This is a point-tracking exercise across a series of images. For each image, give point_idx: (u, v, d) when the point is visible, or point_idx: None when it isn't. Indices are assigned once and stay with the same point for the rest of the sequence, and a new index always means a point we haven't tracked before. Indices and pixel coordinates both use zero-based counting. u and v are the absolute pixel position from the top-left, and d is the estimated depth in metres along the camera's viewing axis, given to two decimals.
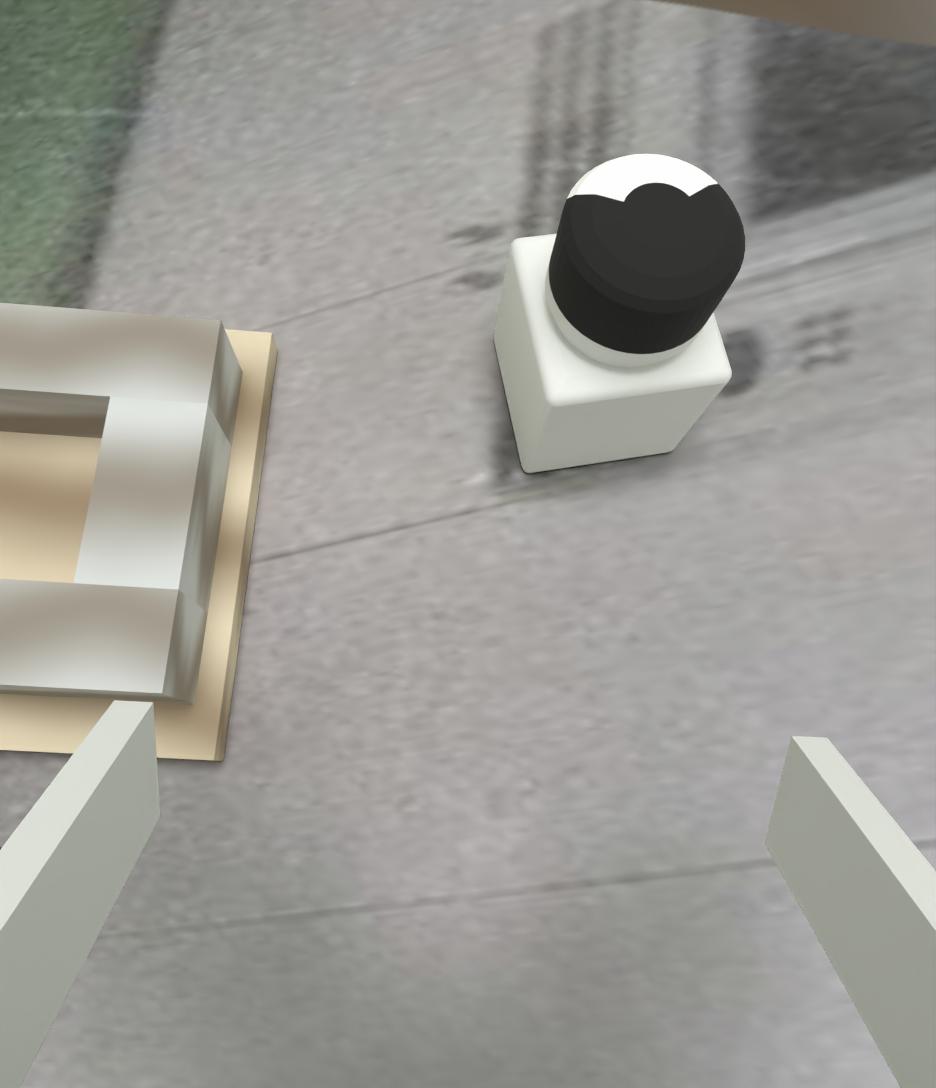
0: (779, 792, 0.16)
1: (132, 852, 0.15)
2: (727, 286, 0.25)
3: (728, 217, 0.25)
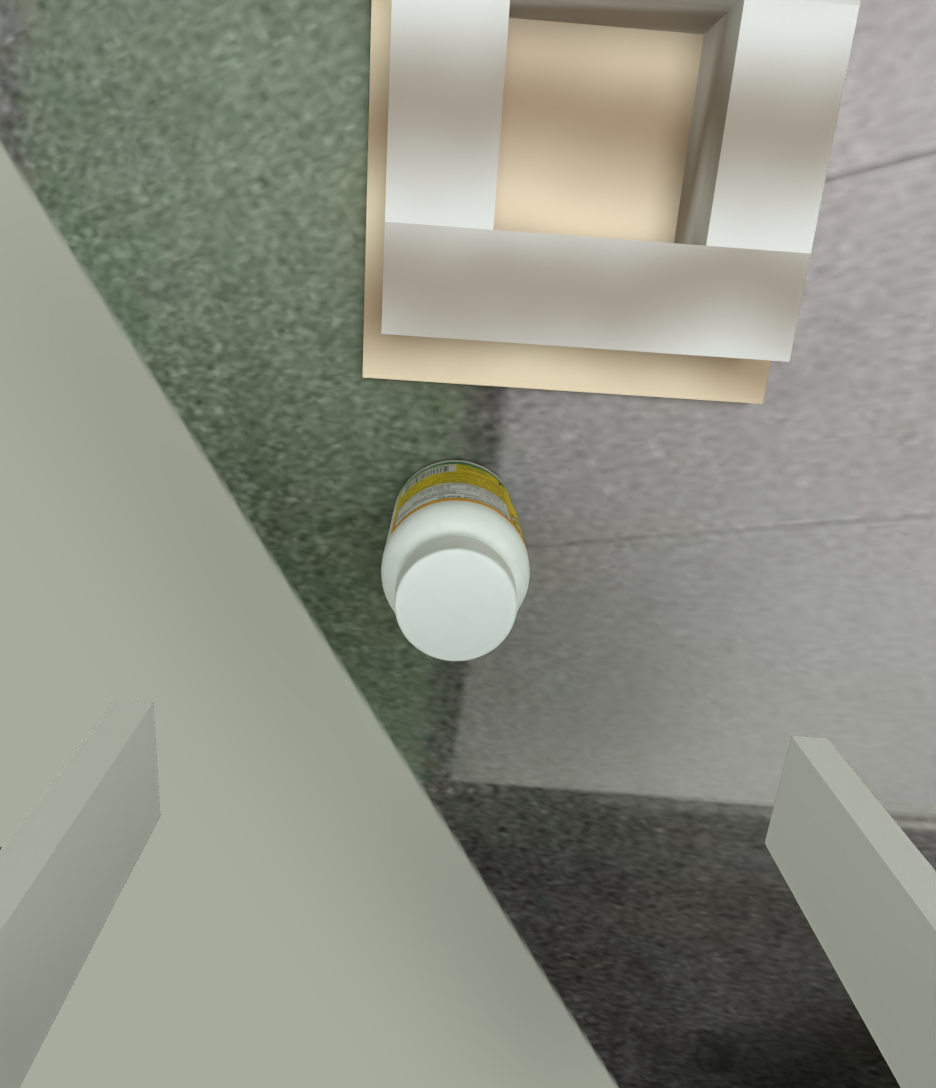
0: (779, 792, 0.16)
1: (131, 852, 0.15)
2: None
3: None
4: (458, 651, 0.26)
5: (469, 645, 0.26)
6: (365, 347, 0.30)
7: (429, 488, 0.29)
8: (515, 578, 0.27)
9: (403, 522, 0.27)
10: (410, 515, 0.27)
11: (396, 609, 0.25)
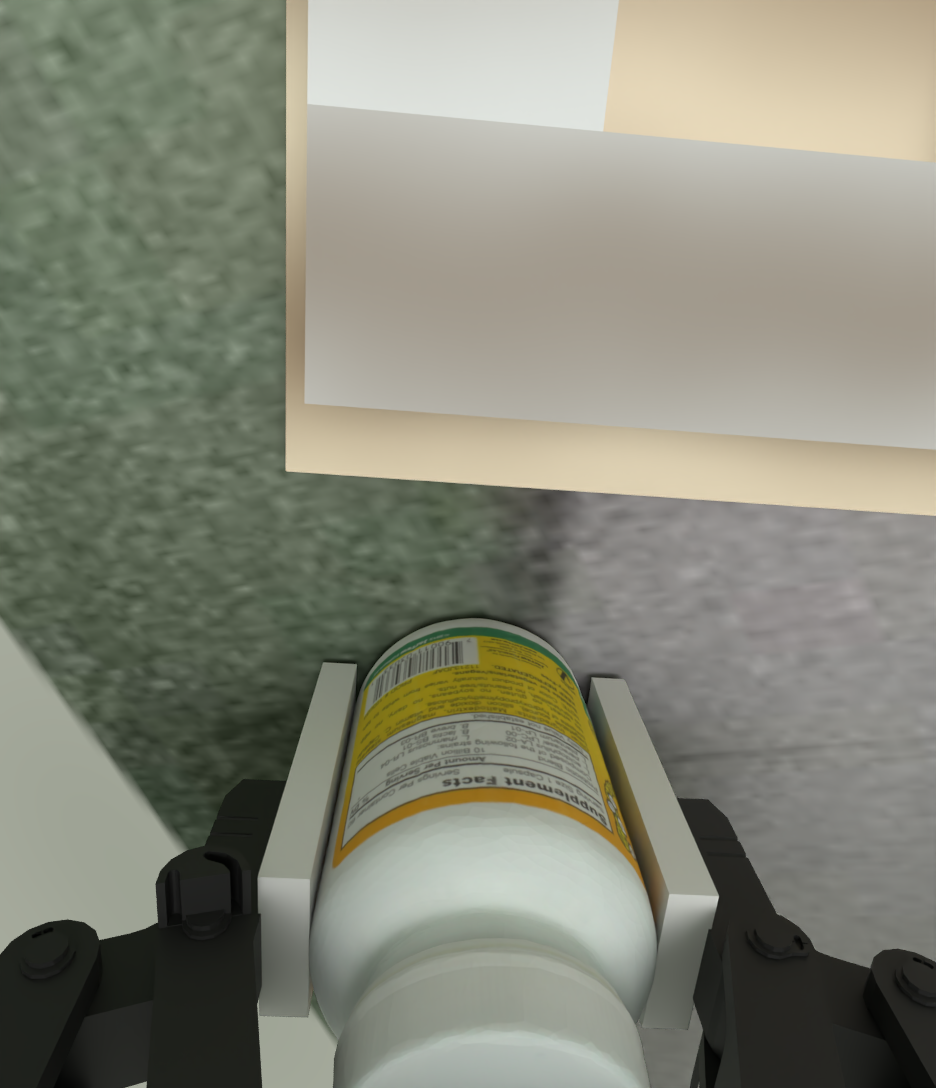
0: None
1: None
2: None
3: None
4: None
5: None
6: (290, 410, 0.14)
7: (423, 727, 0.13)
8: (630, 993, 0.11)
9: (360, 854, 0.11)
10: (377, 837, 0.11)
11: None
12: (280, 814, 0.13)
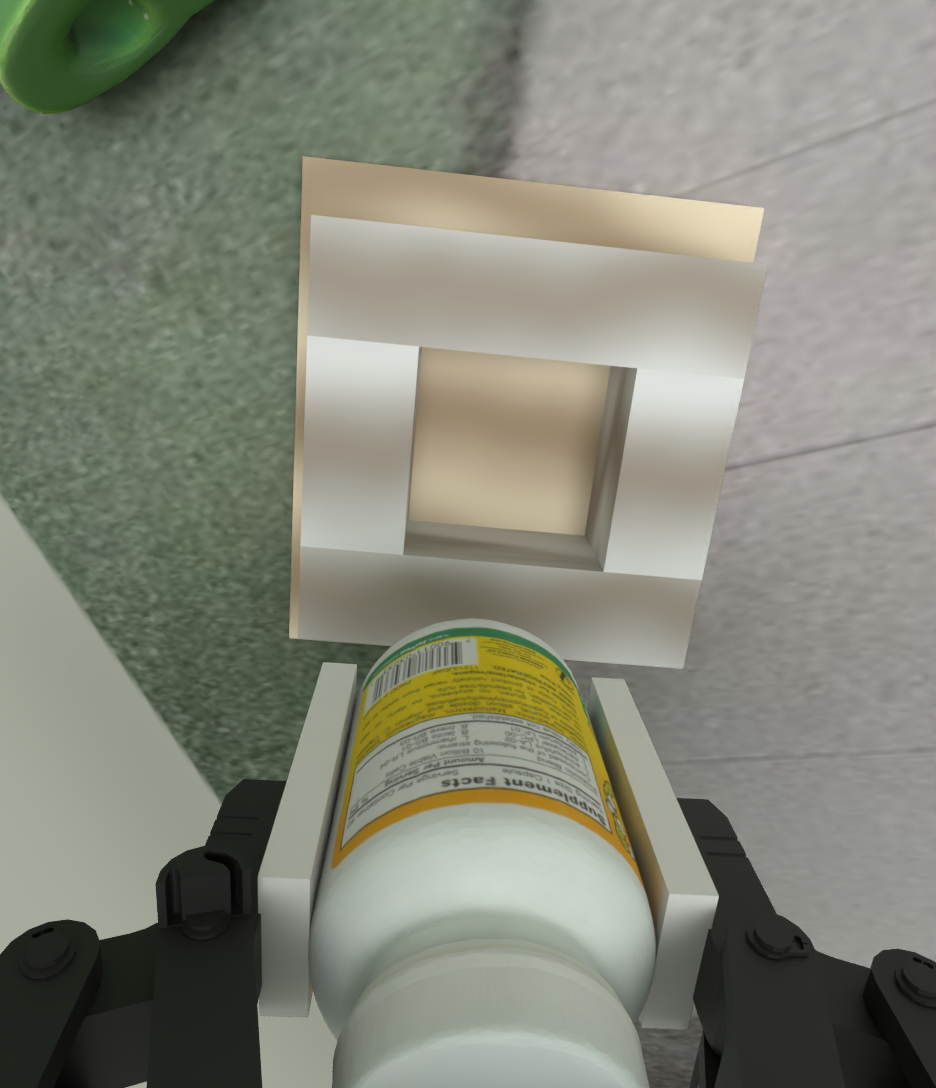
0: None
1: None
2: None
3: None
4: None
5: None
6: (292, 612, 0.32)
7: (422, 728, 0.13)
8: (629, 993, 0.11)
9: (359, 854, 0.11)
10: (376, 837, 0.11)
11: None
12: (280, 813, 0.13)
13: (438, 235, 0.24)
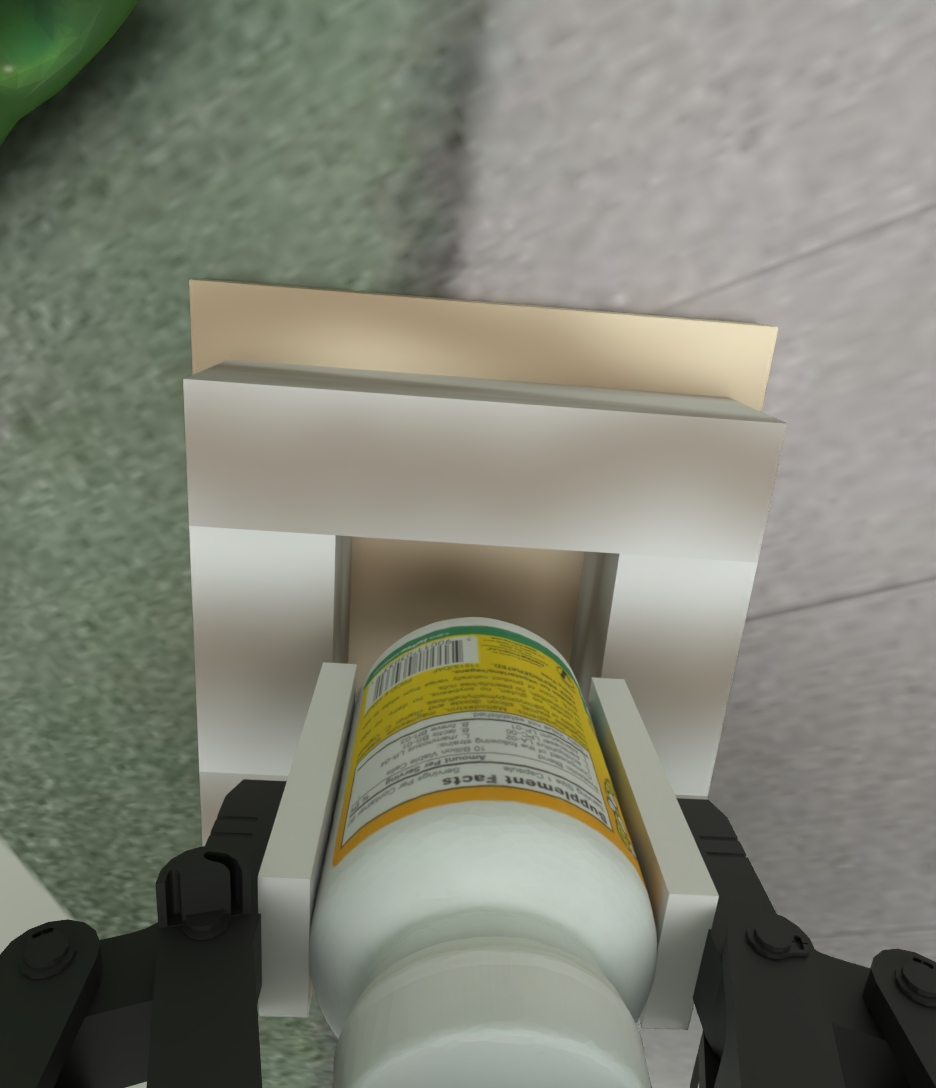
0: None
1: None
2: None
3: None
4: None
5: None
6: None
7: (423, 726, 0.13)
8: (631, 992, 0.11)
9: (360, 852, 0.11)
10: (377, 835, 0.11)
11: None
12: (281, 814, 0.13)
13: (352, 400, 0.18)
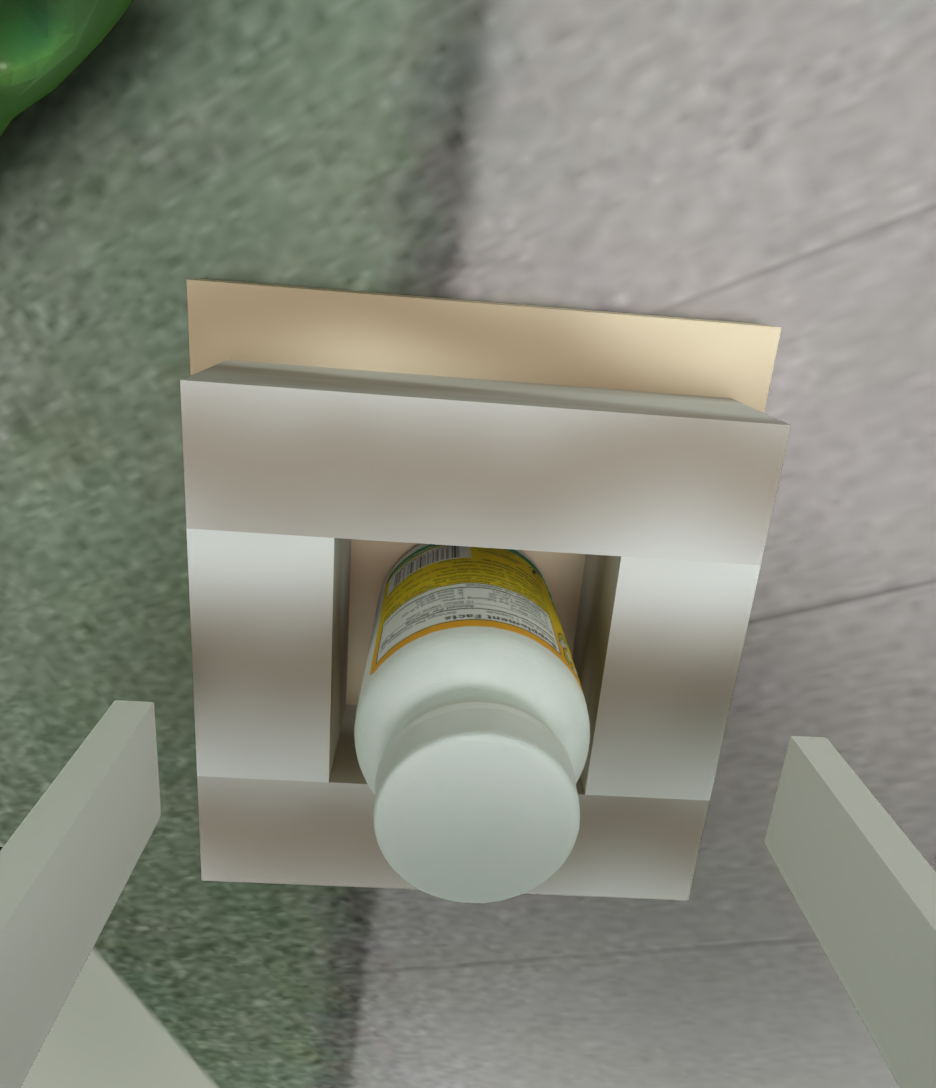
0: (778, 791, 0.17)
1: (132, 851, 0.15)
2: None
3: None
4: (479, 889, 0.15)
5: (498, 881, 0.15)
6: None
7: (431, 592, 0.19)
8: (569, 752, 0.17)
9: (390, 660, 0.17)
10: (401, 649, 0.17)
11: (376, 827, 0.15)
12: None
13: (351, 401, 0.18)
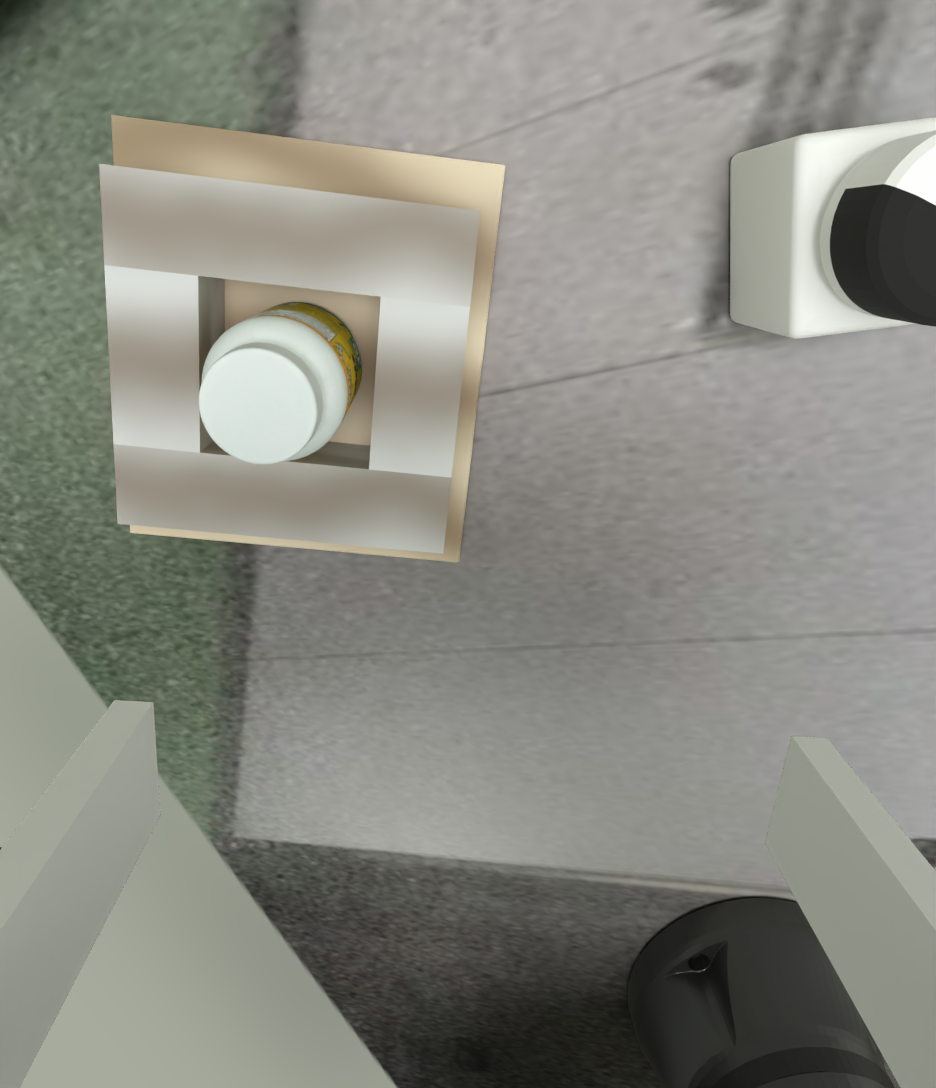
0: (779, 792, 0.16)
1: (132, 851, 0.15)
2: None
3: None
4: (262, 454, 0.27)
5: (272, 448, 0.27)
6: None
7: (259, 313, 0.30)
8: (327, 394, 0.28)
9: (221, 335, 0.28)
10: (228, 329, 0.28)
11: (200, 408, 0.26)
12: None
13: (205, 182, 0.29)
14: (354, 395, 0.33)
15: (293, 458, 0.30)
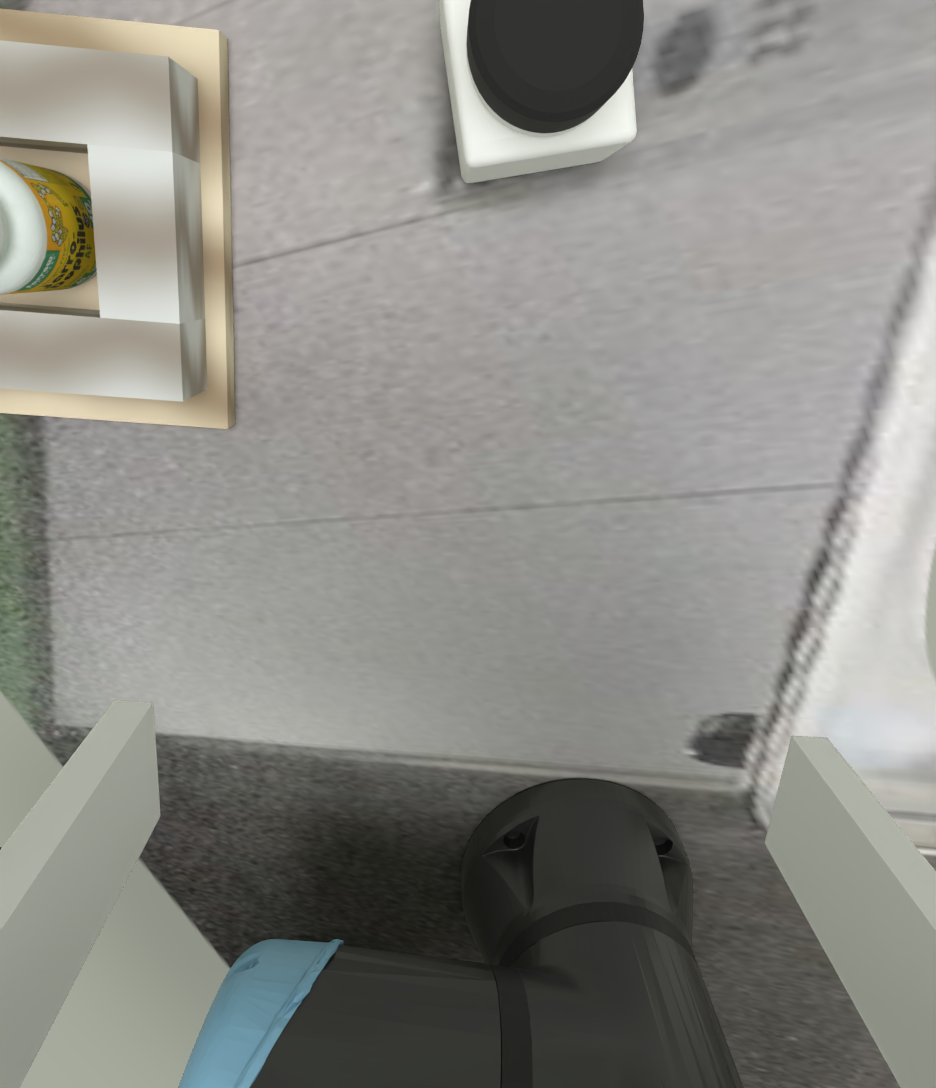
0: (779, 792, 0.16)
1: (132, 852, 0.15)
2: (615, 91, 0.28)
3: (625, 14, 0.26)
4: None
5: None
6: None
7: None
8: (17, 221, 0.30)
9: None
10: None
11: None
12: None
13: None
14: (84, 248, 0.35)
15: None
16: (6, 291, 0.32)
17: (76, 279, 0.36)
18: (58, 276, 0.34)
